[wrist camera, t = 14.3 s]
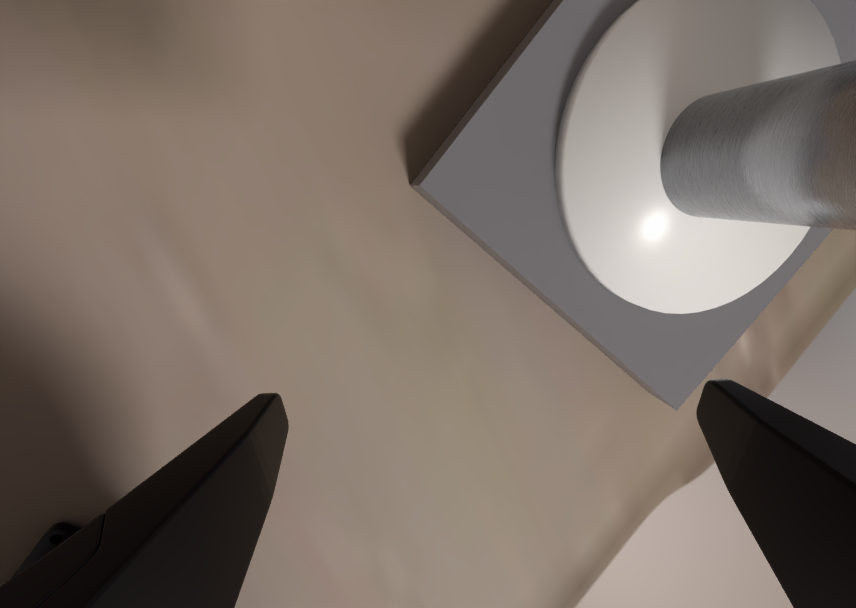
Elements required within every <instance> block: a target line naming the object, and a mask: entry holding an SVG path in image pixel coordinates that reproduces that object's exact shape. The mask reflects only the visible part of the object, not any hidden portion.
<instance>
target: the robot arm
mask: <svg viewBox="0 0 856 608" xmlns="http://www.w3.org/2000/svg"><path fill="white" fill-rule="evenodd" d="M696 414H697V420H698V423H699V425H700V427H701V430H702V432H703V434H704V437H705V439H706V441H707V444H708V446H709V448H710V451H711V453H712V455H713V457H714V460H715V462H716V464H717V467H718V469H719V471H720V474H721V476H722V478H723V480H724V483H725V485H726V487H727V489H728V491H729V493H730V495H731V496H732V498H733V500H734V502H735V504H736V506H737V507H738V509H739V511H740V513H741V515H742V516H743V518H744V520H745V522H746V524H747V525H748V527H749V529H750V531H751V532H752V534H753V536H754V538H755V540H756V541H757V543H758V545H759V547H760V548H761V550H762V552H763V554H764V556H765V557H766V559H767V561H768V563H769V564H770V566H771V568H772V570H773V571H774V573H775V575H776V577H777V578H778V581H779V582H780V584H781V586H782V588H783V589H784V591H785V593H786V595H787V597H788V598H789V600H790V602H791V604H792V605H793V607H794V608H856V444H854V443H852V442H850V441H848V440H846V439H844V438H842V437H841V436H838V435H837V434H835V433H833V432H831V431H829V430H827V429H825V428H823V427H821V426H819V425H817V424H815V423H813V422H812V421H810V420H808V419H805V418H804V417H802V416H800V415H798V414H796V413H794V412H792V411H790V410H788V409H786V408H784V407H783V406H781V405H779V404H777V403H775V402H773V401H771V400H769V399H767V398H765V397H763V396H761V395H759V394H757V393H756V392H754V391H752V390H750V389H748V388H746V387H744V386H742V385H740V384H738V383H736V382H734V381H732V380H728V379H720V380H709V381H707V382H706V383H705V385H704V388H703V391H702V394H701V398H700V401H699V404H698V407H697V413H696ZM287 434H288V419H287V415H286V412H285V409H284V405H283V402H282V399H281V397H280V395H279V394H277V393H262V394H258V395H257V396H256V397H254V398H253V399H252V400H250V401H249V402H248V403H246V404H245V405H244V406H242V407H241V408H240V409H238V410H237V411H236V412H234V413H233V414H232V415H231V416H229V417H228V418H227V419H225V420H224V421H223V422H221V423H220V424H219V425H217V426H216V427H215V428H213V429H212V430H211V431H209V432H208V433H207V434H206V435H204V436H203V437H202V438H200V439H199V440H198V441H196V442H195V443H194V444H192V445H191V446H190V447H188V448H187V449H186V450H184V451H183V452H182V453H181V454H179V455H178V456H177V457H175V458H174V459H173V460H171V461H170V462H169V463H167V464H166V465H165V466H163V467H162V468H161V469H159V470H158V471H157V472H156V473H154V474H153V475H152V476H150V477H149V478H148V479H146V480H145V481H144V482H142V483H141V484H140V485H138V486H137V487H136V488H134V489H133V490H132V491H130V492H129V493H128V494H127V495H125V496H124V497H123V498H121V499H120V500H119V501H117V502H116V503H115V504H113V505H112V506H111V507H109V508H108V509H107V510H106V512H105V513H102V514H100V515H99V516H97V517H96V518H95V519H93V520H92V521H91V522H90V523H88V524H87V525H86V526H84V527H83V528H82V529H81V528H78V527H75V526H73V525H70V524H67V523H57V524H55V525H53V526H52V527H50V528H49V530H48V531H47V532H46V533H45V535H44V536H43V537H42V539H41V540H40V541H39V543H38V544H37V545H36V547H35V548H34V549H33V551H32V552H31V553H30V555H29V556H28V557H27V559H26V560H25V561H24V563H23V564H22V565H21V567H20V568H19V569H18V570H17V572H16V573H15V574H14V576H13V577H12V578H11V579H10V580H9V581H7V582H6V583H5V584H3V585H2V586H0V608H234V607H235V604H236V601H237V599H238V596H239V593H240V590H241V587H242V584H243V581H244V579H245V576H246V573H247V570H248V567H249V564H250V561H251V558H252V556H253V553H254V550H255V547H256V544H257V541H258V538H259V536H260V533H261V530H262V527H263V524H264V521H265V518H266V515H267V513H268V510H269V507H270V504H271V501H272V497H273V494H274V490H275V486H276V482H277V477H278V473H279V469H280V464H281V460H282V456H283V451H284V447H285V443H286V438H287ZM56 534H57V535H61V536H62V537H58V536H57V535H56Z"/></svg>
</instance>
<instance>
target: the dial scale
mask: <svg viewBox="0 0 856 608" xmlns="http://www.w3.org/2000/svg"><path fill="white" fill-rule="evenodd" d="M854 60H856V0H553V1H552V2H551V4H550V5H549V6H548V8H547V9H546V10H545V12H544V13H543V14H542V15H541V17H540V18H539V19H538V21H537V22H536V23H535V24H534V26H533V27H532V28H531V30H530V31H529V32H528V33H527V35H526V36H525V37H524V39H523V40H522V41H521V43H520V44H519V45H518V46H517V48H516V49H515V50H514V52H513V53H512V54H511V55H510V57H509V58H508V59H507V61H506V62H505V63H504V64H503V66H502V67H501V68H500V70H499V71H498V72H497V74H496V75H495V76H494V77H493V79H492V80H491V81H490V83H489V84H488V85H487V86H486V88H485V89H484V90H483V92H482V93H481V94H480V95H479V97H478V98H477V99H476V101H475V102H474V103H473V105H472V106H471V107H470V108H469V110H468V111H467V112H466V114H465V115H464V116H463V117H462V119H461V120H460V121H459V123H458V124H457V125H456V127H455V128H454V129H453V130H452V132H451V133H450V134H449V136H448V137H447V138H446V139H445V141H444V142H443V143H442V145H441V146H440V147H439V148H438V150H437V151H436V152H435V154H434V155H433V156H432V158H431V159H430V160H429V161H428V163H427V164H426V165H425V167H424V168H423V169H422V170H421V172H420V173H419V174H418V176H417V177H416V178H415V179H414V181H413V182H412V183H411V185H410V186H411V187H412V188H413V189H414V190H416V191H417V192H418V193H419V194H420V195H421V196H423V197H424V198H425V199H426V200H427V201H428V202H429V203H431V204H432V205H433V206H434V207H435V208H436V209H438V210H439V211H440V212H441V213H442V214H443V215H444V216H446V217H447V218H448V219H449V220H450V221H451V222H453V223H454V224H455V225H456V226H457V227H458V228H459V229H461V230H462V231H463V232H464V233H465V234H466V235H468V236H469V237H470V238H471V239H472V240H473V241H474V242H476V243H477V244H478V245H479V246H480V247H481V248H483V249H484V250H485V251H486V252H487V253H488V254H490V255H491V256H492V257H493V258H494V259H495V260H496V261H498V262H499V263H500V264H501V265H502V266H503V267H505V268H506V269H507V270H508V271H509V272H510V273H511V274H513V275H514V276H515V277H516V278H517V279H518V280H520V281H521V282H522V283H523V284H524V285H525V286H526V287H528V288H529V289H530V290H531V291H532V292H533V293H535V294H536V295H537V296H538V297H539V298H540V299H541V300H543V301H544V302H545V303H546V304H547V305H548V306H550V307H551V308H552V309H553V310H554V311H555V312H556V313H558V314H559V315H560V316H561V317H562V318H563V319H565V320H566V321H567V322H568V323H569V324H570V325H572V326H573V327H574V328H575V329H576V330H577V331H578V332H580V333H581V334H582V335H583V336H584V337H585V338H587V339H588V340H589V341H590V342H591V343H592V344H593V345H595V346H596V347H597V348H598V349H599V350H600V351H602V352H603V353H604V354H605V355H606V356H607V357H608V358H610V359H611V360H612V361H613V362H614V363H615V364H617V365H618V366H619V367H620V368H621V369H622V370H623V371H625V372H626V373H627V374H628V375H629V376H630V377H632V378H633V379H634V380H635V381H636V382H637V383H638V384H640V385H641V386H642V387H643V388H644V389H645V390H647V391H648V392H649V393H650V394H652V395H653V396H655V397H656V398H658V399H659V400H661V401H663V402H664V403H666V404H667V405H669V406H670V407H672V408H674V409H675V410H678V409H679V407H680V406H681V405H682V404H683V403H684V402H685V400H686V399H687V398H688V397H689V396H690V395H691V393H692V392H693V391H694V390H695V389H696V388H697V387H698V385H699V384H700V383H701V382H702V381H703V380H704V378H705V377H706V376H707V375H708V374H709V373H710V371H711V370H712V369H713V368H714V367H715V366H716V365H717V363H718V362H719V361H720V360H721V359H722V358H723V356H724V355H725V354H726V353H727V352H728V351H729V349H730V348H731V347H732V346H733V345H734V344H735V342H736V341H737V340H738V339H739V338H740V337H741V336H742V334H743V333H744V332H745V331H746V330H747V329H748V327H749V326H750V325H751V324H752V323H753V322H754V320H755V319H756V318H757V317H758V316H759V315H760V313H761V312H762V311H763V310H764V309H765V308H766V307H767V305H768V304H769V303H770V302H771V301H772V300H773V298H774V297H775V296H776V295H777V294H778V293H779V291H780V290H781V289H782V288H783V287H784V286H785V284H786V283H787V282H788V281H789V280H790V279H791V278H792V276H793V275H794V274H795V273H796V272H797V271H798V269H799V268H800V267H801V266H802V265H803V264H804V262H805V261H806V260H807V259H808V258H809V257H810V255H811V254H812V253H813V252H814V251H815V250H816V249H817V247H818V246H819V245H820V244H821V243H822V242H823V240H824V239H825V238H826V237H827V236H828V235H829V233H830V232H831V231H832V230H833V229H832V228H820V227H808V226H797V225H785V224H773V223H762V222H750V221H738V220H727V219H715V218H703V217H694V216H690V215H687V214H685V213H683V212H681V211H679V210H678V209H677V208H676V207H675V206H674V205H673V204H672V203H671V202H670V200H669V199H668V197H667V195H666V193H665V191H664V188H663V184H662V180H661V174H660V162H661V154H662V148H663V145H664V141H665V139H666V136H667V134H668V132H669V130H670V128H671V126H672V124H673V123H674V121H675V120H676V118H677V117H678V116H679V115H680V113H681V112H682V111H683V110H684V109H685V108H686V107H687V106H689V105H690V104H691V103H693V102H694V101H696V100H697V99H699V98H701V97H704V96H706V95H710V94H714V93H718V92H722V91H727V90H731V89H735V88H739V87H744V86H748V85H752V84H756V83H761V82H765V81H769V80H773V79H778V78H782V77H786V76H790V75H795V74H799V73H803V72H807V71H812V70H816V69H820V68H824V67H829V66H833V65H837V64H841V63H846V62H850V61H854Z"/></svg>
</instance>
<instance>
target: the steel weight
mask: <svg viewBox="0 0 856 608" xmlns="http://www.w3.org/2000/svg"><path fill="white" fill-rule="evenodd" d="M660 174H661V180H662V184H663V188H664V191H665V193H666V195H667V197H668V199H669V200H670V202H671V203H672V204H673V205H674V206H675V207H676V208H677V209H678V210H679V211H681V212H683V213H685V214H687V215H690V216H694V217H703V218H715V219H727V220H738V221H750V222H762V223H773V224H785V225H797V226H808V227H820V228H832V229H843V230H855V231H856V60H854V61H850V62H846V63H841V64H837V65H833V66H829V67H824V68H820V69H816V70H812V71H807V72H803V73H799V74H795V75H790V76H786V77H782V78H778V79H773V80H769V81H765V82H761V83H756V84H752V85H748V86H744V87H739V88H735V89H731V90H727V91H722V92H718V93H714V94H710V95H706V96H704V97H701V98H699V99H697V100H696V101H694V102H693V103H691V104H690V105H689V106H687V107H686V108H685V109H684V110H683V111H682V112H681V113H680V115H679V116H678V117H677V118H676V120H675V121H674V123H673V124H672V126H671V128H670V130H669V132H668V134H667V136H666V139H665V141H664V145H663V148H662V154H661V162H660Z"/></svg>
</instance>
